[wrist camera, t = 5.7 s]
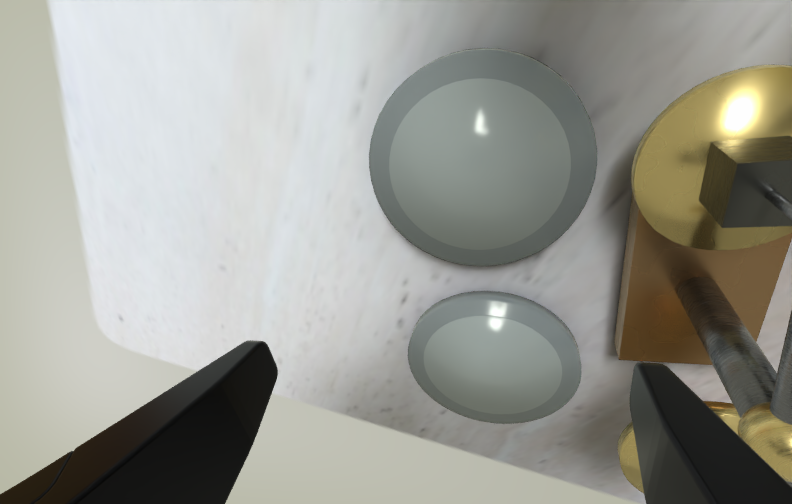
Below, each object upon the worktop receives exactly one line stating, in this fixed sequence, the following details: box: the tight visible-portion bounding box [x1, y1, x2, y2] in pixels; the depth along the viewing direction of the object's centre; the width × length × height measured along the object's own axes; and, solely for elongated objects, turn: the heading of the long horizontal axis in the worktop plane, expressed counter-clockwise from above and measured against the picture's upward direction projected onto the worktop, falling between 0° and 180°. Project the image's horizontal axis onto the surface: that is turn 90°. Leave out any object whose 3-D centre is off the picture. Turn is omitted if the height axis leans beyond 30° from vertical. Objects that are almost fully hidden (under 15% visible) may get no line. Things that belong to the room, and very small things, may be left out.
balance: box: [614, 65, 792, 493], centre depth 14 cm, size 17×6×10 cm, turn 10°
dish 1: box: [369, 48, 597, 266], centre depth 17 cm, size 9×9×1 cm
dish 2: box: [408, 291, 581, 424], centre depth 23 cm, size 9×9×1 cm
